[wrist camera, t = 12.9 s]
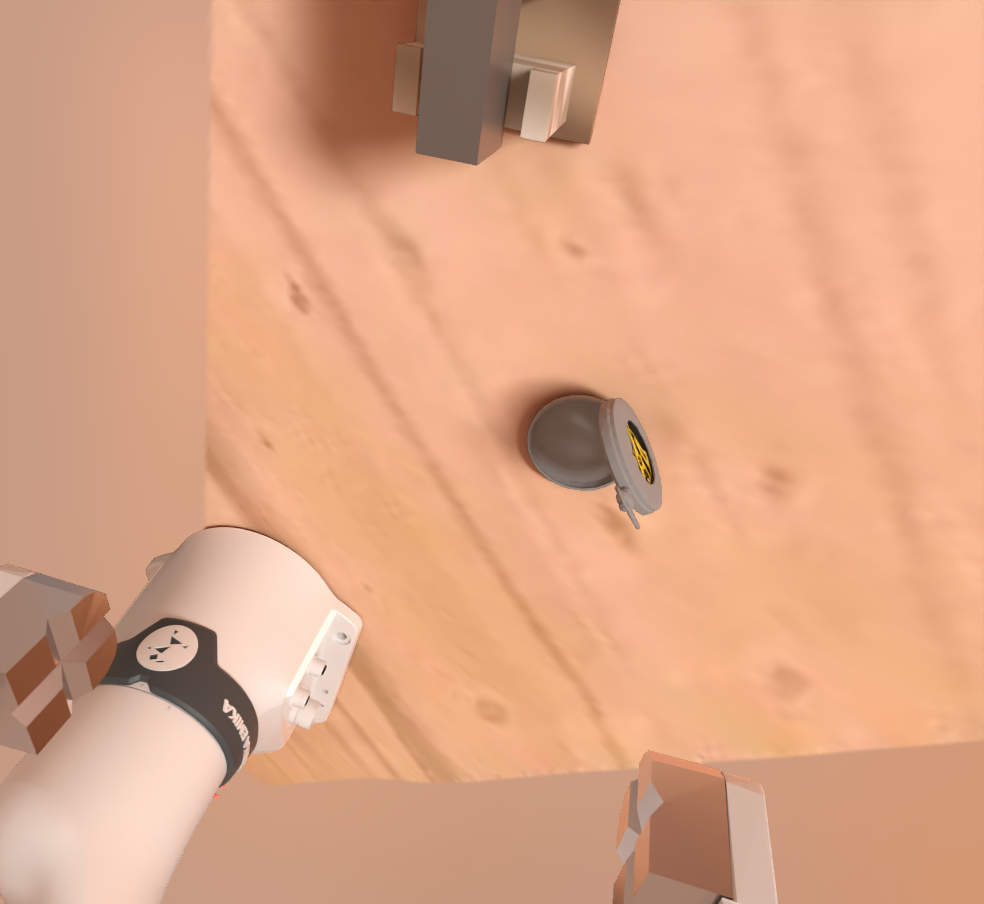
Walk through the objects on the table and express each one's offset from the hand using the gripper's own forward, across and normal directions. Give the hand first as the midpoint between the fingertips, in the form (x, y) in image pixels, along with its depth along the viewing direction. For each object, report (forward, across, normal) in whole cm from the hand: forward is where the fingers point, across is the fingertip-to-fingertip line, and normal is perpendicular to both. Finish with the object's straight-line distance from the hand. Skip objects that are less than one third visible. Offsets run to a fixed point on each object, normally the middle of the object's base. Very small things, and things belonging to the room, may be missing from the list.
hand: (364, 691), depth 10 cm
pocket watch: (+31, +4, -13) cm, 34 cm away
